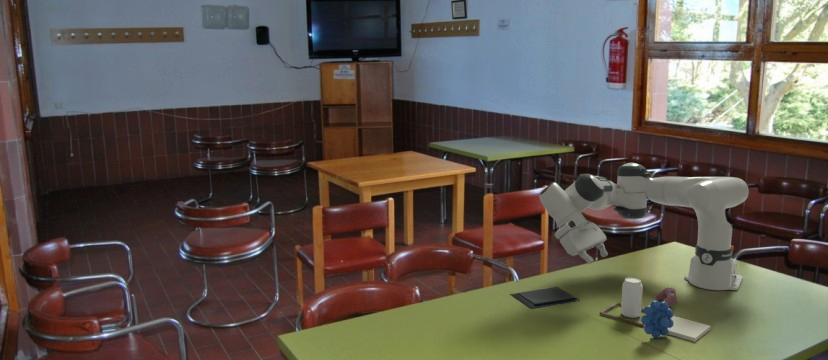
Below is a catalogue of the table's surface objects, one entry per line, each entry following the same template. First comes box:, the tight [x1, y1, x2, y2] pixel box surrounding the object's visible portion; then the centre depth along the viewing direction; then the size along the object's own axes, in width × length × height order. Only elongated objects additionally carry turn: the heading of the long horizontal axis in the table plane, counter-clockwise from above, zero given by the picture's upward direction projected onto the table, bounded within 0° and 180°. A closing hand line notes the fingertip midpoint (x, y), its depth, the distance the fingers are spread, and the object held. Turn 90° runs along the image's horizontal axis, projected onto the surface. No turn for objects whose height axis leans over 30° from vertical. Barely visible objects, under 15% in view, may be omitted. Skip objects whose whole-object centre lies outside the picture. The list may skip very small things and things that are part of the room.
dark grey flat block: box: [509, 286, 581, 310], centre depth 238 cm, size 20×2×15 cm
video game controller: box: [654, 286, 678, 308], centre depth 231 cm, size 10×5×7 cm, turn 169°
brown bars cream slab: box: [599, 301, 712, 343], centre depth 218 cm, size 12×31×1 cm, turn 47°
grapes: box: [640, 299, 675, 339], centre depth 204 cm, size 12×7×12 cm, turn 112°
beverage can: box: [620, 277, 644, 319], centre depth 222 cm, size 6×6×12 cm
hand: (598, 259), depth 228 cm, fingers open, 8 cm apart
